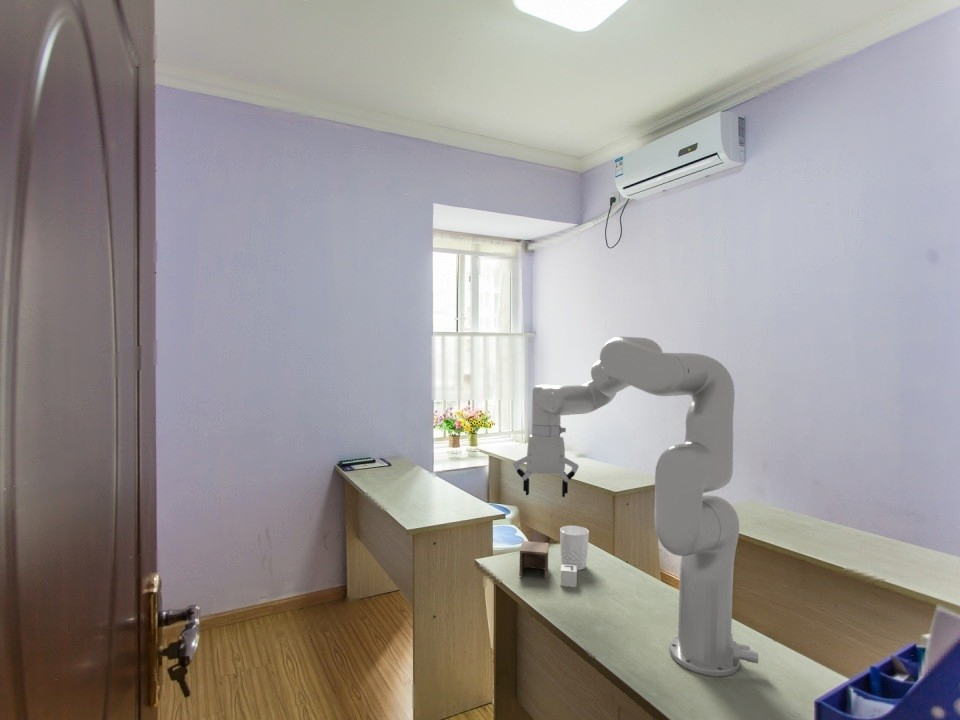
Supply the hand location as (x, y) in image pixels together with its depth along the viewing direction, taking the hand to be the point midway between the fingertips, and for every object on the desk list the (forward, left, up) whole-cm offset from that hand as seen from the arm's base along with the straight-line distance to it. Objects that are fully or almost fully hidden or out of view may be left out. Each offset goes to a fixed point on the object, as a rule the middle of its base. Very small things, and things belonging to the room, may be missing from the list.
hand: (545, 494), depth 142 cm
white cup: (-6, -8, -21) cm, 24 cm away
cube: (-7, +3, -21) cm, 23 cm away
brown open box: (+3, +1, -21) cm, 21 cm away
